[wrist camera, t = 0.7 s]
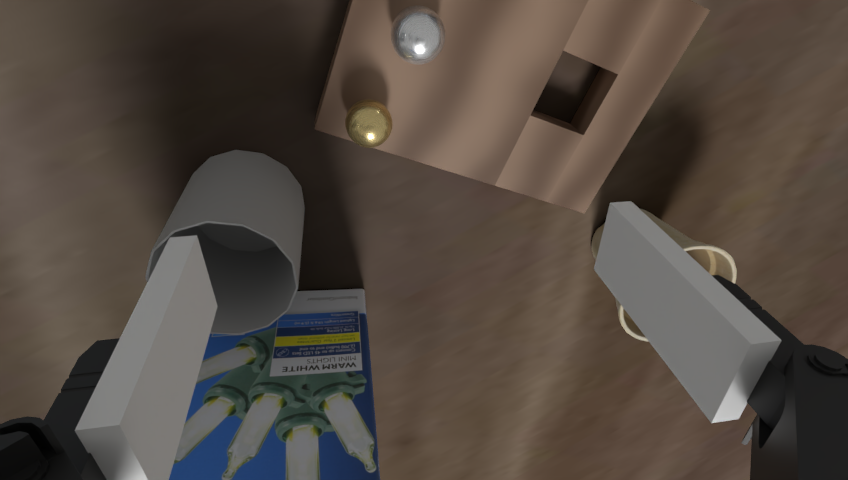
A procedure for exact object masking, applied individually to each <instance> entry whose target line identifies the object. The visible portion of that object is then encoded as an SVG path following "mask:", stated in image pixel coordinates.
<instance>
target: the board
mask: <svg viewBox="0 0 848 480" xmlns="http://www.w3.org/2000/svg"><path fill="white" fill-rule="evenodd" d="M416 5H420V6H425V7H428V8H430V9H432V10H433V11H435V12H436V13H437V14H438V16H439V17H440V18H441V20H442V22H443V24H444V28H445V42H444V46H443V48H442V50H441V52H440V53H439V55H438V56H437V57H436V58H435V59H433V60H432V61H430V62H428V63H425V64H420V65H416V64H411V63H408V62H406V61H404V60H403V59H402V58H400V57H399V55H398V54H397V53H396V52H395V50H394V48H393V45H392V42H391V28H392V24H393V22H394V20H395V18H396V17H397V15H398V14H399V13H400V12H401V11H403V10H404V9H406V8H408V7H411V6H416ZM709 11H710V10H708V9H706V8H704V7H702V6H700V5H699V4H697V3H695V2H693V1H691V0H349V4H348V7H347V10H346V14H345V17H344V21H343V24H342V28H341V31H340V34H339V38H338V41H337V45H336V48H335V52H334V55H333V58H332V62H331V65H330V69H329V72H328V76H327V79H326V82H325V86H324V89H323V93H322V96H321V100H320V103H319V106H318V110H317V113H316V117H315V130H317V131H321V132H324V133H327V134H330V135H333V136H337V137H340V138H343V139H346V140H350V141H352V139H351V138H350V137H349V135H348V133H347V131H346V127H345V119H346V115H347V112H348V111H349V109H350V108H351V107H352V106H353V105H354V104H355V103H356V102H358V101H361V100H365V99H372V100H376V101H378V102H380V103H382V104H383V105H384V106H385V107H386V108H387V109H388V110H389V112H390V114H391V117H392V122H393V126H392V131H391V134H390V136H389V138H388V139H387V140H386V141H385V142H384V143H383V144H381V145H379V146H377V147H372V148H375V149H379V150H382V151H385V152H388V153H391V154H395V155H398V156H401V157H404V158H408V159H411V160H414V161H417V162H420V163H424V164H427V165H430V166H433V167H436V168H440V169H443V170H446V171H449V172H453V173H456V174H459V175H462V176H465V177H469V178H472V179H475V180H478V181H482V182H485V183H488V184H491V185H494V186H498V187H501V188H504V189H507V190H511V191H514V192H517V193H520V194H523V195H527V196H530V197H533V198H536V199H540V200H543V201H546V202H549V203H552V204H556V205H559V206H562V207H565V208H569V209H572V210H575V211H578V212H581V213H585V211H586V210H587V208H588V207H589V205H590V203H591V202H592V200H593V199H594V197H595V195H596V194H597V192H598V190H599V189H600V187H601V186H602V184H603V182H604V181H605V179H606V178H607V176H608V174H609V173H610V171H611V169H612V168H613V166H614V165H615V163H616V161H617V160H618V158H619V157H620V155H621V153H622V152H623V150H624V148H625V147H626V145H627V144H628V142H629V140H630V139H631V137H632V136H633V134H634V132H635V131H636V129H637V127H638V126H639V124H640V123H641V121H642V119H643V118H644V116H645V115H646V113H647V111H648V110H649V108H650V106H651V105H652V103H653V102H654V100H655V98H656V97H657V95H658V94H659V92H660V90H661V89H662V87H663V86H664V84H665V82H666V81H667V79H668V77H669V76H670V74H671V73H672V71H673V69H674V68H675V66H676V65H677V63H678V61H679V60H680V58H681V56H682V55H683V53H684V52H685V50H686V48H687V47H688V45H689V44H690V42H691V40H692V39H693V37H694V35H695V34H696V32H697V31H698V29H699V27H700V26H701V24H702V23H703V21H704V19H705V18H706V16H707V14H708V13H709ZM563 51H565V52H568V53H570V54H572V55H575V56H577V57H579V58H581V59H584V60H586V61H588V62H591V63H593V64H595V65H598V66H600V67H601V68H600V70H599V71H598V73H597V75H596V77H595V79H594V80H593V82H592V84H591V86H590V88H589V90H588V91H587V93H586V95H585V97H584V99H583V100H582V102H581V104H580V106H579V108H578V110H577V111H576V113H575V115H574V117H573V119H572V121H571V122H570V124H569V123H567V122H564V121H562V120H559V119H556V118H554V117H551V116H548V115H546V114H543V113H541V112H538V111H535V110H533V109H534V107H535V105H536V103H537V101H538V99H539V97H540V95H541V93H542V91H543V89H544V87H545V85H546V83H547V81H548V79H549V77H550V75H551V73H552V72H553V70H554V68H555V66H556V64H557V62H558V60H559V58H560V56H561V54H562V52H563ZM353 142H354V141H353Z"/></svg>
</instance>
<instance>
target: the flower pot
mask: <svg viewBox="0 0 848 480" xmlns="http://www.w3.org/2000/svg"><path fill="white" fill-rule="evenodd" d="M640 210H641V211H642V212H643V213H645V214H646V215H647V216H648V217H649V218H650V219H651V220H652V221H653V222H654V223H655V224H656V225H658V226H659V227H660V228H661V229H662V230H663V231H664V232H665V233H666V234H667V235H668V236H669V237H671V238H672V239H673V240H674V241H675V242H676V243H677V244H678V245H679V246H680V247H681V248H682V249H683V250H685V251H686V252H687V253H688V254H689V255H690V256H691V257H692V258H693V259H694V260H695V261H696V262H698V263H699V264H700V265H701V266H702V267H703V268H704V269H705V270H706V271H707V272H708V273H709V274H711V275H720V276H722V277H723V278H725V279H727V280H729V281H731V282H733V283H734V284H735V282H736V274H737V270H736V266H735V262H734V260H733V258H732V257H731V256H730V255H729V254H728V253H727V252H726V251H724V250H723V249H721V248H719V247H716V246H713V245H708V244H704V243H702V242H699V241H695V240H692V239H690V238H689V237H687V236H686V235H684V234H682V233H681V232H679V231H677V230H676V229H674V228H673V227H671V226H670V225H668V224H666V223H665V222H663V221H662V220H660V219H659V218H657V217H656V216H654V215H653V214H651V213H650V212H648V211H646V210H643V209H640ZM604 225H605V223H604V224H603V225H602V226H601V227H599V228H598V229H597V230H596V232H595V234H594V236H593V239H592V244H591V248H592V253H593V256H594V258H595V260H596V259H597V254H598V250H599V246H600V242H601V238H602V233H603V229H604ZM616 305H617V308H618V316H619V320H620V323H621V325H622V327H623V328H624V330H625V331H626V332H627V333H628V334H630V335H631V336H633V337H635V338H637V339H639V340H644V341H648V339H647V338H646V337H645V335H644V334H643V333H642V332H641V330H640V329H639V328H638V326H637V325H636V324H635V322H634V321H633V320H632V318H631V317H630V316H629V315H628V313H627V312H626V311H625V309H624V308H623V307H622V305H621V304H620V303H619V301H618V300H617V299H616Z"/></svg>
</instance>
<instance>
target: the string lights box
mask: <svg viewBox="0 0 848 480" xmlns="http://www.w3.org/2000/svg"><path fill="white" fill-rule="evenodd" d="M169 480H380V472H379V460H378V448H377V435H376V423H375V411H374V398H373V386H372V373H371V361H370V350H369V338H368V327H367V316H366V305H365V292H364V289H343V290H316V291H297V292H296V294H295V297H294V299H293V302H292V304H291V307H290V309H289V311H287V312H286V313H285V314H284V315H282V316H281V317H280V318H279V319H277V320H276V321H275V322H274V323H272V324H271V325H270V326H269V327H266V328H262V329H259V330H256V331H252V332H249V333H245V334H242V335H227V334H210V335H209V339H208V342H207V346H206V349H205V353H204V357H203V360H202V364H201V367H200V371H199V374H198V378H197V381H196V385H195V389H194V392H193V396H192V399H191V403H190V406H189V410H188V413H187V417H186V421H185V424H184V428H183V431H182V435H181V438H180V442H179V446H178V449H177V453H176V456H175V460H174V463H173V467H172V470H171V474H170V478H169Z"/></svg>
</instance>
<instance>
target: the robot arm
mask: <svg viewBox="0 0 848 480" xmlns="http://www.w3.org/2000/svg"><path fill="white" fill-rule="evenodd" d="M594 270H595V271H596V273H597V274H598V275H599V277H600V278H601V279H602V281H603V282H604V283H605V284H606V286H607V287H608V288H609V290H610V291H611V292H612V294H613V295H614V296H615V298H616V299H617V300H618V301H619V303H620V304H621V305H622V307H623V308H624V309H625V311H626V312H627V313H628V315H629V316H630V317H631V318H632V320H633V321H634V322H635V324H636V325H637V326H638V328H639V329H640V330H641V332H642V333H643V334H644V335H645V337H646V338H647V339H648V341H649V342H650V343H651V345H652V346H653V347H654V349H655V350H656V351H657V353H658V354H659V355H660V356H661V358H662V359H663V360H664V362H665V363H666V364H667V366H668V367H669V368H670V370H671V371H672V372H673V373H674V375H675V376H676V377H677V379H678V380H679V381H680V383H681V384H682V385H683V387H684V388H685V389H686V390H687V392H688V393H689V394H690V396H691V397H692V398H693V400H694V401H695V402H696V404H697V405H698V406H699V407H700V409H701V410H702V411H703V413H704V414H705V415H706V417H707V418H708V419H709V421H710V422H711V423H715V422H722V421H729V420H735V419H739V417H740V415H741V414H742V412H743V410H744V408H745V406H746V405H747V403H748V404H749V405H750V406H751V407H752V408H753V409H754V410H755V412H756V413H757V416H756V417H755V419H754V421H753V422H752V424H751V426H750V428H749V429H748V431H747V433H746V435H745V436H744V438H743V441H742V443H743V444H745V445H747V444H748V442H749V440H750V439H752V448H751V470H750V480H848V359H847V358H845V357H844V356H842V355H840V354H839V353H837V352H835V351H832V350H830V349H827V348H825V347H821V346H816V345H804V344H803V343H802V342H800V341H799V340H798V339H797V338H796V337H795V336H794V335H793V334H791V333H790V332H789V331H788V330H787V329H786V328H785V327H784V326H782V325H781V324H780V323H779V322H778V321H777V320H776V319H775V318H774V317H772V316H771V315H770V314H769V313H768V312H767V311H766V310H762V307H761V306H760V305H759V304H758V303H757V302H756V301H754V300H751V297H750V296H749V295H748V294H747V293H745V292H744V291H743V290H742V289H741V288H740V287H739V286H738V285H736V284H734V283H733V282H731V281H729V280H727V279H725V278H723V277H722V276H720V275H711V274H709V273H708V272H707V271H706V270H705V269H704V268H703V267H702V266H701V265H700V264H699V263H698V262H696V261H695V260H694V259H693V258H692V257H691V256H690V255H689V254H688V253H687V252H686V251H685V250H683V249H682V248H681V247H680V246H679V245H678V244H677V243H676V242H675V241H674V240H673V239H672V238H671V237H669V236H668V235H667V234H666V233H665V232H664V231H663V230H662V229H661V228H660V227H659V226H658V225H656V224H655V223H654V222H653V221H652V220H651V219H650V218H649V217H648V216H647V215H646V214H645V213H643V212H642V211H641V210H640V209H639V208H638V207H637V206H636V205H635V204H634V203H633V202H632V201H626V202H613V203H610V204H609V208H608V213H607V217H606V221H605V225H604V229H603V233H602V238H601V242H600V246H599V250H598V254H597V259H596V263H595V267H594ZM217 307H218V306H217V303H216V299H215V296H214V292H213V289H212V285H211V282H210V279H209V275H208V272H207V268H206V265H205V261H204V258H203V254H202V251H201V247H200V244H199V241H198V237H197V235H195V236H182V237H170V238H169V240H168V242H167V244H166V246H165V248H164V250H163V252H162V254H161V256H160V258H159V260H158V262H157V264H156V266H155V268H154V270H153V272H152V274H151V276H150V278H149V280H148V282H147V284H146V287H145V289H144V291H143V293H142V295H141V297H140V299H139V301H138V303H137V305H136V307H135V309H134V311H133V313H132V315H131V317H130V319H129V321H128V323H127V325H126V327H125V329H124V331H123V333H122V335H121V337H120V338H119V339H109V340H100V341H96V342H95V343H94V344H93V345H92V346H91V347H90V348H89V349H88V350H87V351H85V352H84V353H83V354H82V355H81V356H80V357H79V359H78V360H77V362H76V364H75V366H74V367H73V369H72V371H71V373H70V375H69V378H68V379H67V380H66V382H65V383H64V385H63V387H62V389H61V393H59V394H58V396H57V398H56V399H55V401H54V403H53V405H52V406H51V408H50V410H49V412H48V413H47V415H46V417H45V419H44V421H43V420H42V419H40V418H36V417H22V418H17V419H12V420H9V421H7V422H5V423H2V424H0V480H169V478H170V474H171V470H172V467H173V463H174V460H175V456H176V453H177V449H178V446H179V442H180V438H181V435H182V431H183V428H184V424H185V421H186V417H187V413H188V410H189V406H190V403H191V399H192V396H193V392H194V389H195V385H196V381H197V378H198V374H199V371H200V367H201V364H202V360H203V357H204V353H205V349H206V346H207V342H208V339H209V335H210V332H211V328H212V325H213V321H214V317H215V314H216V310H217Z"/></svg>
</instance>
